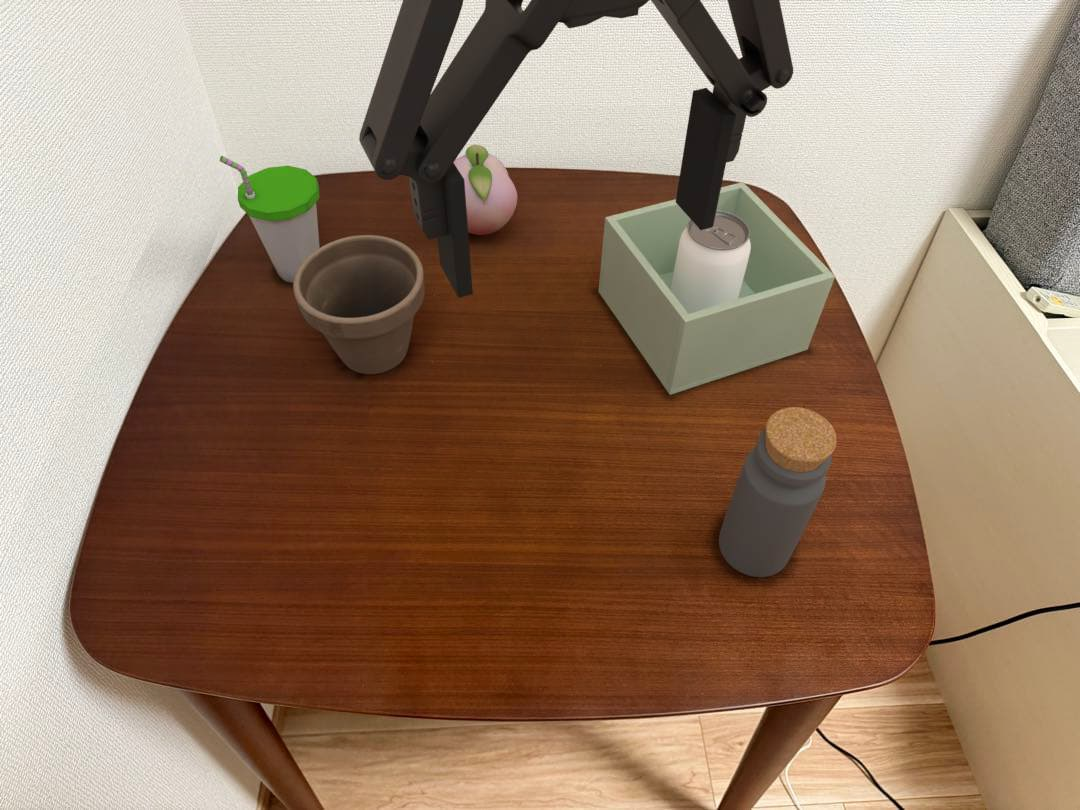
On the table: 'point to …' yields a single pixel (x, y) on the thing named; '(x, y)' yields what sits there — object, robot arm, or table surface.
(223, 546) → the table surface
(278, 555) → the table surface
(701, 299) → the can
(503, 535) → the table surface
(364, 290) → the flower pot
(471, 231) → the decorative fruit
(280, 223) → the cup
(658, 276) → the bin
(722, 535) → the bottle
